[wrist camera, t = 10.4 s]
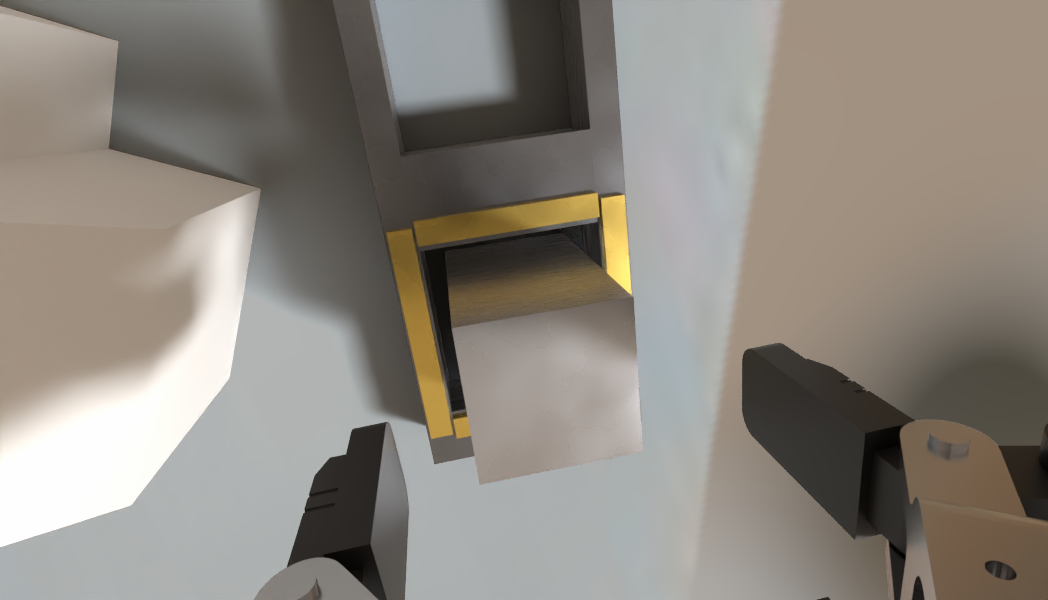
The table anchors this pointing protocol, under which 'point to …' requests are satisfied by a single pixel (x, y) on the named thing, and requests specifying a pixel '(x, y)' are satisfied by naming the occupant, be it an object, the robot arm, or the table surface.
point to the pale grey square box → (543, 356)
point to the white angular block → (100, 287)
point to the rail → (488, 188)
